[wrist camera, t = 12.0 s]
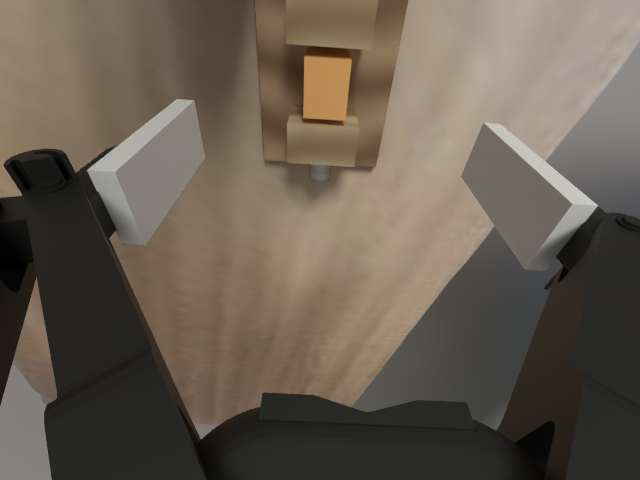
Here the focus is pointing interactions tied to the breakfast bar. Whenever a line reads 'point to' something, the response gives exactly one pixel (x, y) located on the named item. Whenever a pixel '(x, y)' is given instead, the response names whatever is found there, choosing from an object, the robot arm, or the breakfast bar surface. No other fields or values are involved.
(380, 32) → the shaft bench
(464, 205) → the breakfast bar surface
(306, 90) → the orange rectangular block
